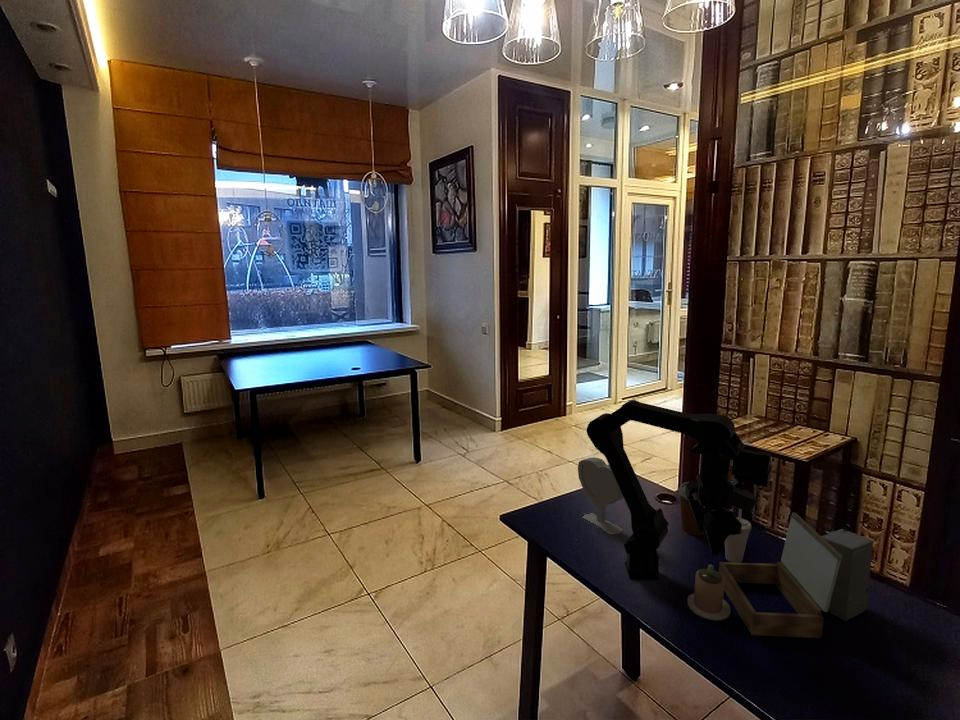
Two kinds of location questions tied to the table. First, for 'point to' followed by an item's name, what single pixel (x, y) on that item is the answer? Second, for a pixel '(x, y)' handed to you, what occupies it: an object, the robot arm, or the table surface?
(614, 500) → the heart sculpture
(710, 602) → the clay pot
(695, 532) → the disposable coffee cup
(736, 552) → the smoothie
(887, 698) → the table surface
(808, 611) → the open wooden box frame
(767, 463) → the robot arm
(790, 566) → the grey angled plate
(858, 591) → the skincare box
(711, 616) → the cream round disc
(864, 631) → the table surface
